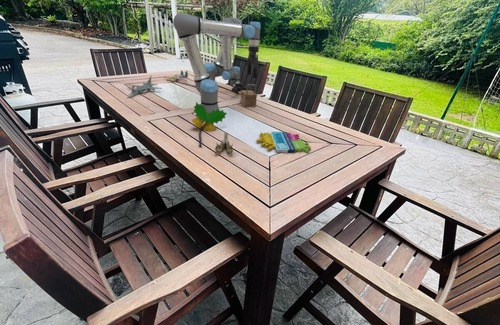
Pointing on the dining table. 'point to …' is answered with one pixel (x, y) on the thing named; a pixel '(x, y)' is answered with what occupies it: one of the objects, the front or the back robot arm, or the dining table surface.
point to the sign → (283, 142)
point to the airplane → (142, 88)
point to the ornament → (207, 117)
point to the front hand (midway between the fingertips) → (251, 76)
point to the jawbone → (224, 145)
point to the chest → (248, 100)
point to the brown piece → (249, 91)
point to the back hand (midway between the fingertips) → (245, 92)
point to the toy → (178, 77)
